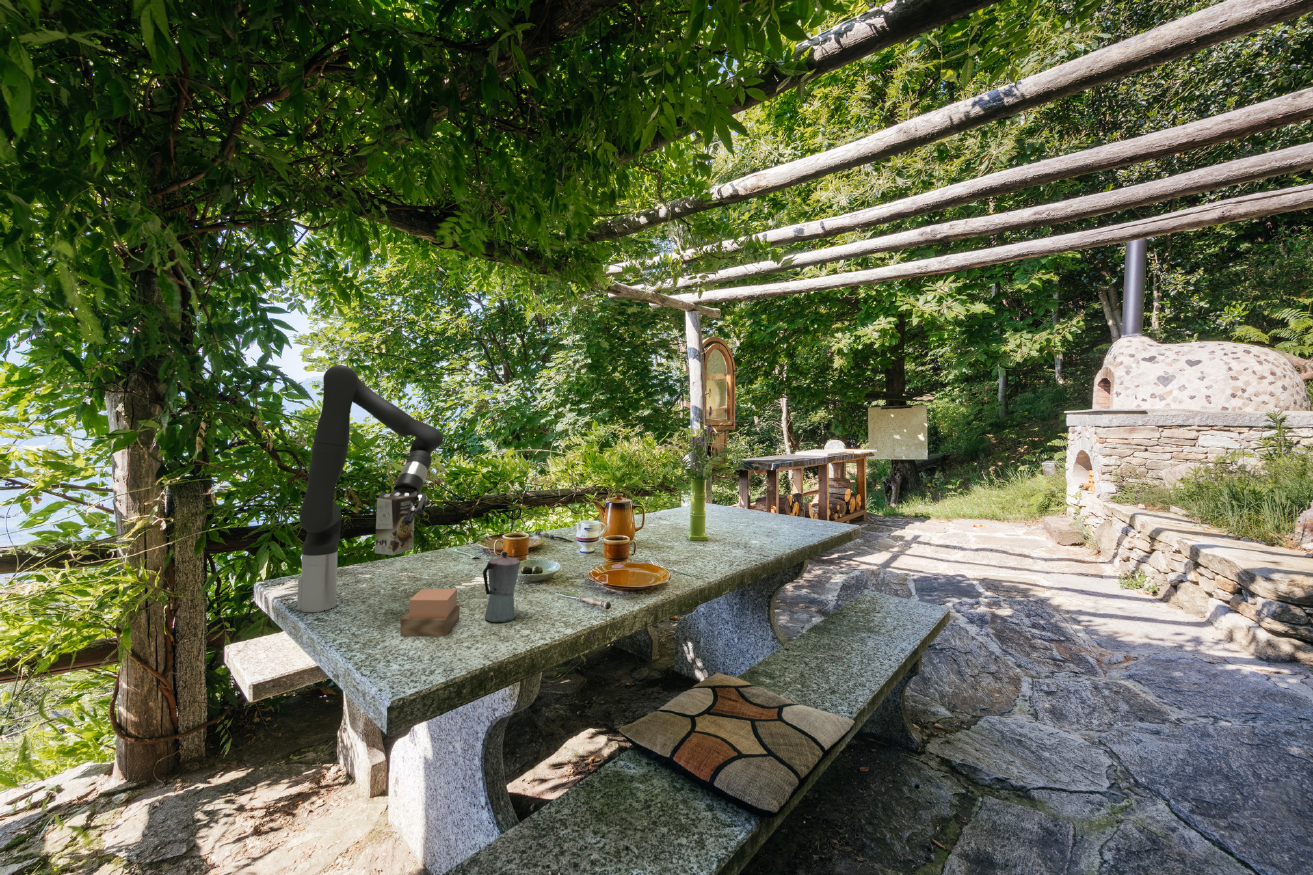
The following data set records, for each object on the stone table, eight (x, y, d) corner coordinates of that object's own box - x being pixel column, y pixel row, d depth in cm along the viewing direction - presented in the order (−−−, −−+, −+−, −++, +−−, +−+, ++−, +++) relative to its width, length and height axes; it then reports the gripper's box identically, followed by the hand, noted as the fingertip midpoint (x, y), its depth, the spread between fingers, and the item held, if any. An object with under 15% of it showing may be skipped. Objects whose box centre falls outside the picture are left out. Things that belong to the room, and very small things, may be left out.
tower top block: (408, 618, 143) (409, 599, 143) (421, 605, 153) (421, 588, 153) (446, 618, 144) (446, 600, 144) (456, 605, 154) (457, 589, 154)
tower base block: (400, 637, 142) (400, 618, 142) (417, 620, 154) (418, 604, 154) (445, 637, 143) (445, 619, 143) (459, 621, 155) (459, 604, 155)
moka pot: (527, 612, 163) (529, 549, 163) (497, 630, 148) (499, 560, 148) (501, 608, 166) (503, 546, 166) (469, 624, 151) (472, 556, 151)
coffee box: (393, 555, 149) (395, 499, 148) (373, 553, 150) (375, 497, 150) (414, 548, 158) (416, 495, 157) (395, 546, 159) (397, 494, 159)
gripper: (384, 470, 160) (363, 514, 149) (431, 472, 161) (414, 516, 150) (392, 486, 166) (372, 529, 154) (437, 488, 167) (421, 531, 155)
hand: (393, 523), depth 152 cm, fingers closed on coffee box, 7 cm apart
